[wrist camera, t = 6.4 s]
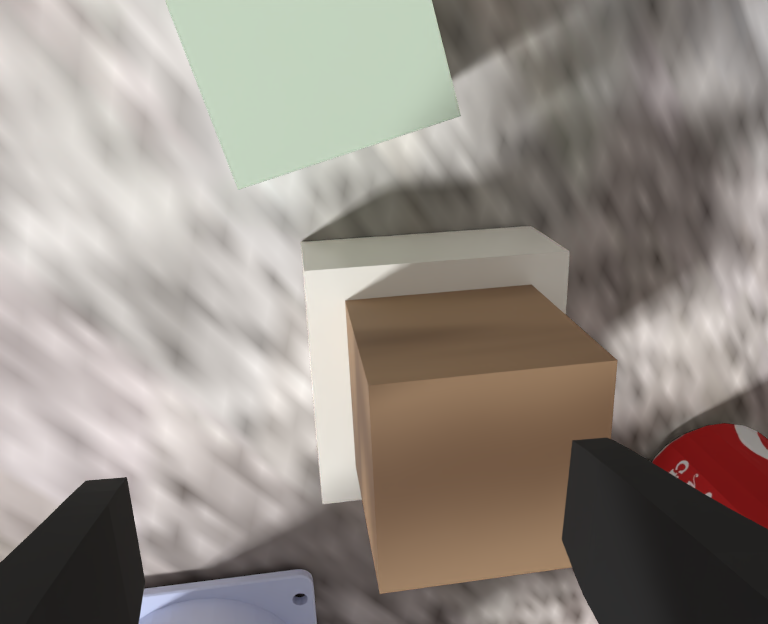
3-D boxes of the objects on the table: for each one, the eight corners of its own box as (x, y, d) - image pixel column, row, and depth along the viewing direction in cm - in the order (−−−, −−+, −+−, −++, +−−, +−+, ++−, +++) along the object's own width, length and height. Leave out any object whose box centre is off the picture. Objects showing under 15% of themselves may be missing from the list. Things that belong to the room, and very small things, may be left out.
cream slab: (523, 427, 23) (556, 477, 21) (317, 449, 23) (322, 504, 20) (531, 225, 21) (569, 251, 18) (300, 241, 20) (303, 270, 17)
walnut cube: (525, 446, 20) (600, 563, 15) (355, 466, 19) (379, 593, 15) (531, 284, 18) (617, 360, 14) (344, 300, 18) (368, 385, 13)
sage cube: (417, 103, 19) (461, 115, 15) (248, 159, 19) (238, 189, 15) (364, -93, 18) (394, -148, 13) (176, -32, 17) (139, -67, 13)
